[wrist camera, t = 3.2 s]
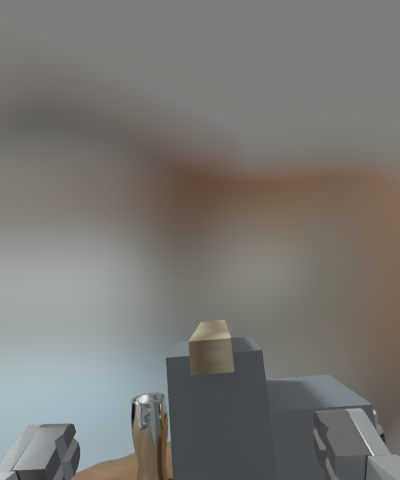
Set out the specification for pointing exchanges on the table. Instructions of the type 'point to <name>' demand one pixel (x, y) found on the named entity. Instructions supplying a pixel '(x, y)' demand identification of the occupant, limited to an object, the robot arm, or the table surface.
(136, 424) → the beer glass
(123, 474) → the table surface
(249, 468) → the stepped shelf
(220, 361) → the wooden rod
